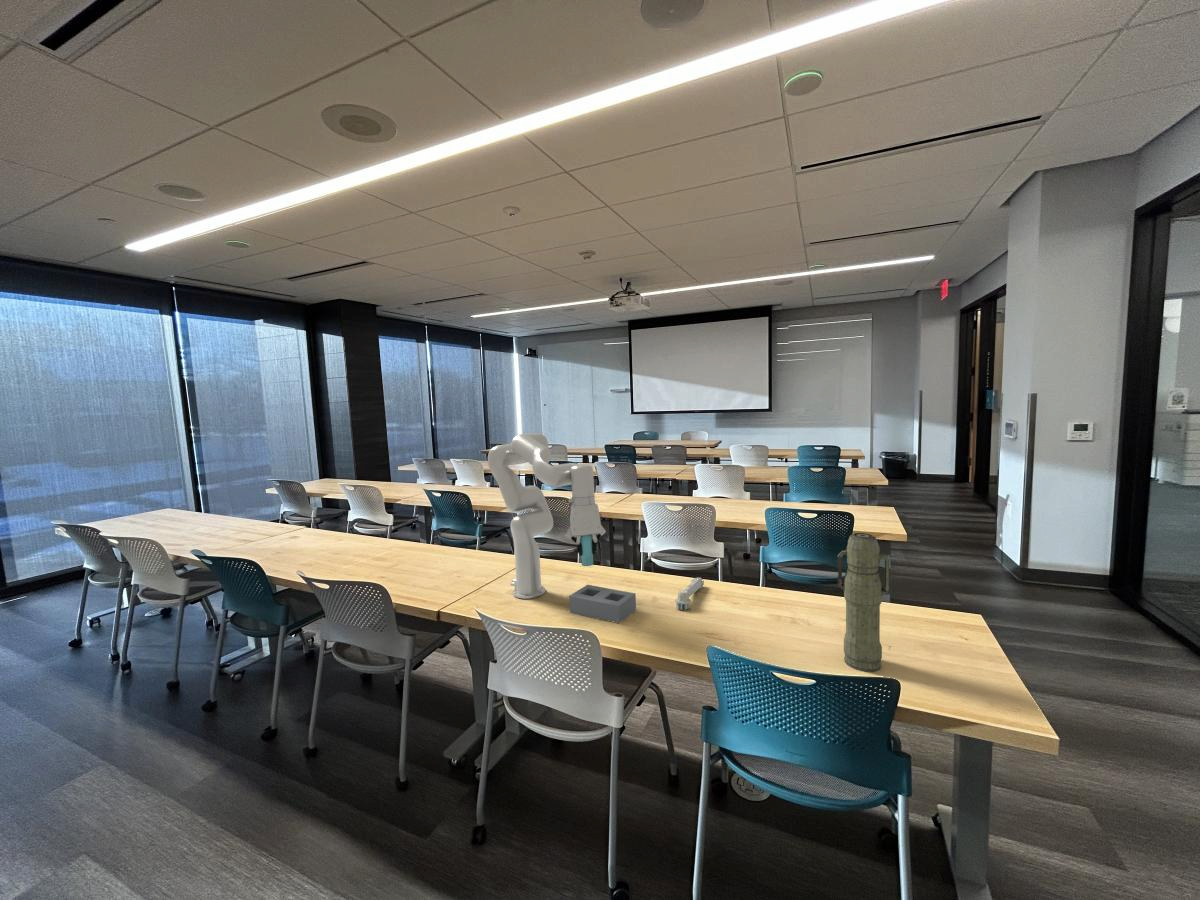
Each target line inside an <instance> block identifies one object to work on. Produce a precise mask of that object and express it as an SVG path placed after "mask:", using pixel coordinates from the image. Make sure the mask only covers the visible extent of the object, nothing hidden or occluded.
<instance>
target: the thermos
mask: <svg viewBox="0 0 1200 900" xmlns="http://www.w3.org/2000/svg"><path fill="white" fill-rule="evenodd" d="M880 549H881V547H880V545H879V543H878V539H877V537H876V536H875V535H873V534H870V533H868V532H867V533H865V532H855V533H852V534H850V535H849V538H848V540H847V545H846V549H845V550H843V549H842V550H841V552H839V554H837V575H838V577H837V578H838V579H837V585H838V587H839V588H840V589H841V590H842V591H843V595H844V596H843V597H844V600H845V634H844V638H843V653H844V663H845V664H846V665H847V666H849V667H850V668H852V669H854V670H856V671H860V672H865V673H873V672H878V671H879V670H881V668H882V663H881V662H882V657H883V646H882V643H881V640H880V639H881V638H880V637H881V636H880V631H881V630H880V629H881V625H880V624H881V623H880V622H881V620H880V619H881V618H880V617H881V616H880V615H881V604H882V603H883V597H884V595H889V592H890V591H889V590H890V560H889V558H888V556H887V555H886V554H885V553H881V552H880V551H881V550H880ZM844 555H845V556H846V564H847V567H846V573H845V574H844V578H843V562H842V561H843V556H844ZM882 559H883V560H884V587H883V581H882V579H881V576H880V569H879V568H880V560H882ZM842 581H843V582H842Z"/></svg>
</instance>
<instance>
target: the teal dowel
mask: <svg viewBox="0 0 1200 900" xmlns="http://www.w3.org/2000/svg"><path fill="white" fill-rule="evenodd" d="M580 543H581V545H582V556H580V560H581V566H582V567H591V566H593V565H594V554H593V550H592V535H585V536H581V538H580Z"/></svg>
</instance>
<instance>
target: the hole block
mask: <svg viewBox="0 0 1200 900" xmlns="http://www.w3.org/2000/svg"><path fill="white" fill-rule="evenodd" d="M636 597H637V596H636V593H634V592H630V591H626V590H625V591H624V590H618V589H613V588H608V587H602V586H597V585H592V584H586V585H584V586H583V587H581V588H580V589H578V590H576V591H575V592H573V593H571V594H570V595H569V596H568V603H569V613H571V614H575V615H578V616H585V617H587V618H592V617H594V618H593V619H597V618H599V619H598V620H601V619H604V620H603V621H606V620H609V621H608V622H610V621H614V622H618V623H617V624H619V623H620V622H621V621H622V622H623V621H624V619H625V618H626V617H627V616H628V617H629V616H631V615H632V614H633V613H634V612H636V611H637V599H636ZM635 610H636V611H635ZM632 612H633V613H632ZM631 613H632V614H631ZM630 614H631V615H630ZM628 617H627V618H628ZM627 618H626V619H627ZM626 619H625V620H626ZM614 622H613V623H614ZM622 622H621V623H622ZM621 623H620V624H621Z"/></svg>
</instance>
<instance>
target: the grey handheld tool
mask: <svg viewBox="0 0 1200 900" xmlns="http://www.w3.org/2000/svg"><path fill="white" fill-rule="evenodd" d="M697 579H698V580H697ZM702 580H703V578H702V577H695V578H693V579H692V580H691V581H690V583H689V584H688V585H687V586H686V587H685V588H684V589H683V590H681V589H680V590H678V592H677V598H675V600H674V601H675V603H676V604H675V606H676V609H678V610H681V611H687V610H689V608H690V609H691V603H692V599H690V597H691V596H692V595H693V594H695V593H696V592H697V591H699V590H698V589H700V590H701V589H702V588H703V586H704V584H705V582H704V580H703V581H702Z"/></svg>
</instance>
